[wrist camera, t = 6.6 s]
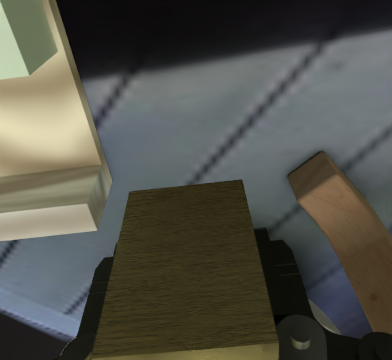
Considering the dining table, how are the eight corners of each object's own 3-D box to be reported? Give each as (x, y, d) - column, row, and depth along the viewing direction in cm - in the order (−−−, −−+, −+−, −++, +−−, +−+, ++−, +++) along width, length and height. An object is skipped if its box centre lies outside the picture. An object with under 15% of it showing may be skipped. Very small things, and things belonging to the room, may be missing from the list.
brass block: (129, 191, 12) (91, 359, 7) (242, 179, 12) (279, 342, 7) (155, 283, 15) (140, 448, 10) (247, 274, 15) (276, 438, 10)
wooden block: (285, 175, 37) (352, 336, 22) (322, 149, 35) (422, 303, 20) (331, 221, 40) (416, 385, 25) (366, 199, 39) (479, 361, 24)
